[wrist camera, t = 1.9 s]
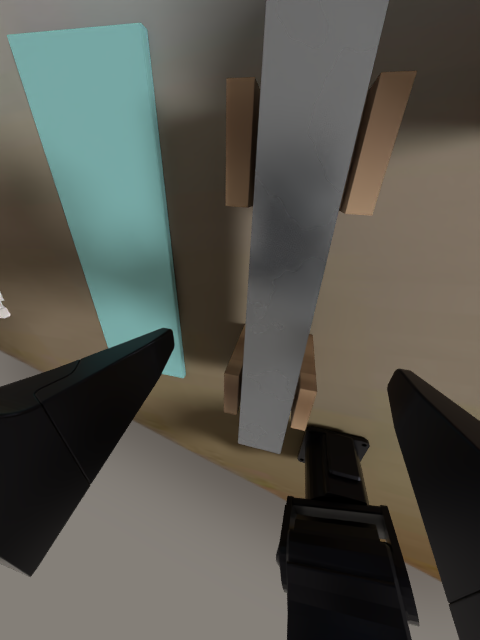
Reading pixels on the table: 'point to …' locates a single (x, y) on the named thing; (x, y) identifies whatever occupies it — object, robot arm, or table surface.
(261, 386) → the rail
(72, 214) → the mat
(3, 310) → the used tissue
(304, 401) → the stand
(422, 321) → the table surface
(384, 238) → the table surface
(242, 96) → the stand
